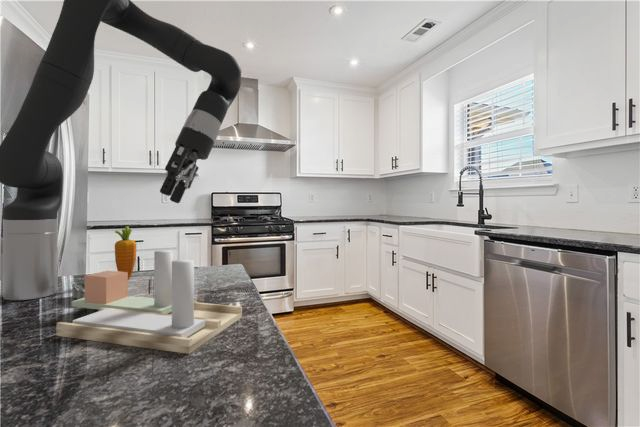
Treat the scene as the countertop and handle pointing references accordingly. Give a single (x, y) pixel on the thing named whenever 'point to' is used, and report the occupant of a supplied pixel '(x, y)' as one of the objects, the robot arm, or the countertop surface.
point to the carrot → (125, 252)
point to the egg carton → (78, 289)
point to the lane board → (214, 319)
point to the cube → (106, 286)
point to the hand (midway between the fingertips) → (169, 198)
